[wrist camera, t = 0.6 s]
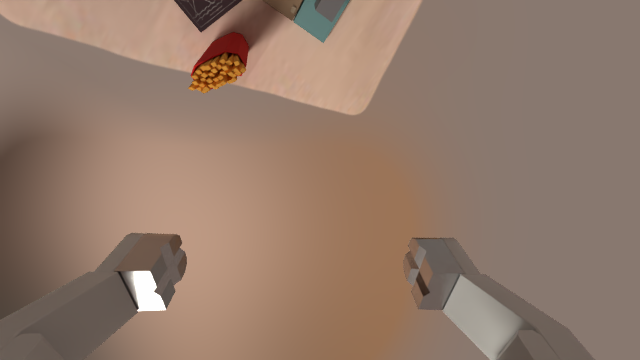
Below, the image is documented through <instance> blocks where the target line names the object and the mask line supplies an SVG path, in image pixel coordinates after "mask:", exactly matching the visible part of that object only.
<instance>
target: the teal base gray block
mask: <svg viewBox="0 0 640 360" xmlns="http://www.w3.org/2000/svg"><path fill="white" fill-rule="evenodd" d="M349 1H350V0H303V2H302V4H301V6H300V8H299V10H298V12H297V14H296V16H295V18H294V23H296V24H297V25H299V26H300V27H301V28H303V29H304V30H306V31H307V32H309V33H310V34H311V35H313V36H314V37H316V38H317V39H319V40H320V41H321V42H323V43H324V41H325V40H326V38H327V36H328V35H329V33H330V31H331V30H332V28H333V27H334V25H335V23H336V22H337V20H338V19H339V17H340V15H341V14H342V12H343V10H344V9H345V7H346V6H347V4H348V2H349Z"/></svg>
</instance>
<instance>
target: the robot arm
mask: <svg viewBox="0 0 640 360" xmlns="http://www.w3.org/2000/svg"><path fill="white" fill-rule="evenodd" d="M181 244H182V241H181V238H180V236H179V235H176V234H152V233H147V234H143V233H131V234H128V235H126V237H125V238H124V239H123V240H122V241H121V242H120V243H119V244H118V245H117V247H116V248H115V249H114V250H113V251H112V252H111V254H109V256H108V257H107V258H106V259H105V260H104V261H103V262H102V264H101V265H100V266H99V267H98V268H97V269H96V270H95V271H94V272H88V273H86V274H84V275H82V276H80V277H78V278H77V279H75V280H73V281H71V282H69V283H67V284H66V285H64V286H62V287H60V288H58V289H56V290H55V291H53V292H51V293H49V294H47V295H45V296H44V297H42V298H40V299H38V300H36V301H34V302H33V303H31V304H29V305H27V306H25V307H23V308H22V309H20V310H18V311H16V312H14V313H12V314H11V315H9V316H7V317H5V318H3V319H1V320H0V360H84V359H85V358H86V357H87V356H88V355H89V354H91V353H92V352H93V351H94V350H95V349H96V348H98V347H99V346H100V345H101V344H102V343H103V342H104V341H105V340H106V339H108V338H109V337H110V336H111V335H112V334H114V333H115V332H116V331H117V330H118V329H119V328H120V327H121V326H123V325H124V324H125V323H126V322H127V321H128V320H130V319H131V318H132V317H133V316H134V315H135V314H137V313H138V311H140V310H166V309H167V307H168V305H169V303H170V301H171V299H172V296H173V295H174V293H175V288H174V285H175V284H176V283H177V282H179V281H180V280H181V279H182V277H183V275H184V273H185V269H186V264H187V257H186V254H185V252H184V251H183V250H181V249H180V246H181ZM408 247H409V249H410V251H409V252H408V253H407V254H406V255H405V258H404V272H405V276H406V279H407V281H408V282H409V283H410V284H412V285H413V289H412V291H411V292H412V294H413V297H414V300H415V302H416V304H417V307H418V309H427V310H443V312H444V313H445V314H446V315H447V316H448V317H449V318H450V319H451V320H452V321H453V322H454V323H455V324H456V325H457V326H458V327H459V328H460V329H461V330H462V331H463V332H464V333H465V334H466V336H468V337H469V338H470V339H471V340H472V342H473V343H474V344H475V345H476V346H477V347H478V348H479V349H480V350H481V351H482V352H483V353H484V354H485V355H486V356H487V357H488V358H489V359H490V360H595V359H594V358H593V357H592V356H591V354H590V353H589V352H588V351H587V350H586V349H585V347H584V346H583V345H582V344H581V343H580V342H579V341H578V339H577V338H576V337H575V336H574V335H573V334H572V332H571V331H570V330H569V329H568V328H566V327H565V326H563V325H562V324H560V323H559V322H557V321H556V320H554V319H553V318H551V317H550V316H548V315H546V314H545V313H544V312H542V311H540V310H539V309H537V308H536V307H534V306H533V305H531V304H530V303H528V302H527V301H525V300H524V299H522V298H520V297H519V296H518V295H516V294H515V293H513V292H511V291H510V290H508V289H507V288H505V287H504V286H502V285H501V284H499V283H497V282H496V281H494V280H493V279H492V278H490V277H489V276H487V275H485V274H480V272H479V271H478V269H477V268H476V267H475V265H474V264H473V262H472V261H471V259H470V258H469V257H468V255H467V254H466V252H465V251H464V250H463V248H462V247H461V245H460V244H459V243H458V241H457V240H456V239H454V238H412V239H411V240H410V242H409V245H408Z"/></svg>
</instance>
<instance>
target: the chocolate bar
mask: <svg viewBox="0 0 640 360" xmlns="http://www.w3.org/2000/svg"><path fill="white" fill-rule="evenodd" d="M174 1H175V2H176V3H177V4H178V6H179V7H180V8H181V9H182V10H183V12H184V13H185V14H186V15H187V16H188V18H189V19H190V20H191V21H192V22H193V24H194V25H195V26H196V27H197V28H198V30H199V31H200V32H202V31H204V30H205V29H206V28H207V27H209V26H210V25H211V24H212V23H214V22H215V21H216V20H218V19H219V18H220V17H221V16H223V15H224V14H225V13H227V12H228V11H229V10H230V9H232V8H233V7H234V6H236V5H237V4H238V3H239V2H241V1H242V0H174Z"/></svg>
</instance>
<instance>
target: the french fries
mask: <svg viewBox="0 0 640 360" xmlns="http://www.w3.org/2000/svg"><path fill="white" fill-rule="evenodd" d="M248 49H249V46H248V44H247V42H246V40H245V39H244V37H243V35H242V34H238V33H235V32H232V33H230V34H227V35H225V36H223V37H221V38H219V39H217V40H216V41H214V42H212V43H211V45H210V46H209V47H208V49H207V50H206V51H205V53H204V54H203V55H202V56H201V58H200V59H199V60H198V62H197V63H196V64H195V66H194V68H193V71H192V73H191V77H192V78H193V80H194V81H193V82H192V84H191V86H190V87H189V89H190V90H195V89H197V90H199V91H201V92H202V93H206V92H208V91H210V89H213V88H214V89H218V88H219V87H220V86H223V85H225V84H226V83H227V82H228V83H229V84H230V83H233V82H235V81H236V80H237V76H241V75H242V73H244V72H245V71H246V68H245V67H246V63H247V56H248ZM197 86H198V87H197Z"/></svg>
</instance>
